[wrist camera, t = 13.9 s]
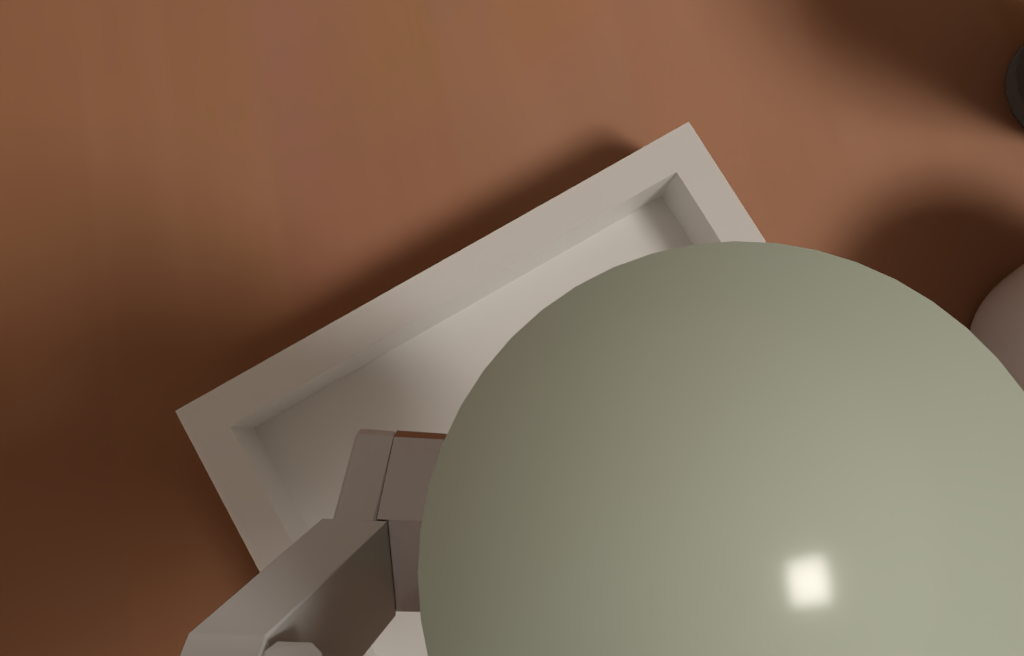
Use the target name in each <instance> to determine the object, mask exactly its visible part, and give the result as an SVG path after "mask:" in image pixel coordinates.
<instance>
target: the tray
mask: <svg viewBox="0 0 1024 656" xmlns="http://www.w3.org/2000/svg"><path fill="white" fill-rule="evenodd" d="M730 241H740V242H764V243H766V241H765V239H764V238H763V236H762V235H761V233H760V232H759V230H758V229H757V227H756V225H755V224H754V222H753V221H752V219H751V218H750V216H749V215H748V213H747V211H746V210H745V208H744V207H743V205H742V204H741V202H740V201H739V199H738V197H737V196H736V194H735V193H734V191H733V190H732V188H731V187H730V185H729V183H728V182H727V180H726V179H725V177H724V176H723V174H722V173H721V171H720V169H719V168H718V166H717V165H716V163H715V162H714V160H713V159H712V157H711V155H710V154H709V152H708V151H707V149H706V148H705V146H704V145H703V143H702V141H701V140H700V138H699V137H698V135H697V134H696V132H695V131H694V129H693V127H692V126H691V124H690V123H689V122H687V123H686V124H684V125H682V126H680V127H679V128H677V129H675V130H673V131H671V132H670V133H668V134H666V135H664V136H663V137H661V138H659V139H657V140H655V141H654V142H652V143H650V144H648V145H647V146H645V147H643V148H641V149H639V150H638V151H636V152H634V153H632V154H631V155H629V156H627V157H625V158H623V159H622V160H620V161H618V162H616V163H615V164H613V165H611V166H609V167H608V168H606V169H604V170H602V171H600V172H599V173H597V174H595V175H593V176H592V177H590V178H588V179H586V180H584V181H583V182H581V183H579V184H577V185H576V186H574V187H572V188H570V189H568V190H567V191H565V192H563V193H561V194H560V195H558V196H556V197H554V198H552V199H551V200H549V201H547V202H545V203H544V204H542V205H540V206H538V207H536V208H535V209H533V210H531V211H529V212H528V213H526V214H524V215H522V216H520V217H519V218H517V219H515V220H513V221H512V222H510V223H508V224H506V225H504V226H503V227H501V228H499V229H497V230H496V231H494V232H492V233H490V234H489V235H487V236H485V237H483V238H481V239H480V240H478V241H476V242H474V243H473V244H471V245H469V246H467V247H465V248H464V249H462V250H460V251H458V252H457V253H455V254H453V255H451V256H449V257H448V258H446V259H444V260H442V261H441V262H439V263H437V264H435V265H433V266H432V267H430V268H428V269H426V270H425V271H423V272H421V273H419V274H417V275H416V276H414V277H412V278H410V279H409V280H407V281H405V282H403V283H401V284H400V285H398V286H396V287H394V288H393V289H391V290H389V291H387V292H385V293H384V294H382V295H380V296H378V297H377V298H375V299H373V300H371V301H370V302H368V303H366V304H364V305H362V306H361V307H359V308H357V309H355V310H354V311H352V312H350V313H348V314H346V315H345V316H343V317H341V318H339V319H338V320H336V321H334V322H332V323H330V324H329V325H327V326H325V327H323V328H322V329H320V330H318V331H316V332H314V333H313V334H311V335H309V336H307V337H306V338H304V339H302V340H300V341H298V342H297V343H295V344H293V345H291V346H290V347H288V348H286V349H284V350H282V351H281V352H279V353H277V354H275V355H274V356H272V357H270V358H268V359H266V360H265V361H263V362H261V363H259V364H258V365H256V366H254V367H252V368H251V369H249V370H247V371H245V372H243V373H242V374H240V375H238V376H236V377H235V378H233V379H231V380H229V381H227V382H226V383H224V384H222V385H220V386H219V387H217V388H215V389H213V390H211V391H210V392H208V393H206V394H204V395H203V396H201V397H199V398H197V399H195V400H194V401H192V402H190V403H188V404H187V405H185V406H183V407H181V408H179V409H178V410H176V411H175V412H176V414H177V416H178V417H179V419H180V421H181V423H182V425H183V427H184V429H185V431H186V433H187V435H188V437H189V438H190V440H191V442H192V444H193V446H194V448H195V450H196V452H197V454H198V456H199V458H200V459H201V461H202V463H203V465H204V467H205V469H206V471H207V473H208V475H209V477H210V478H211V480H212V482H213V484H214V486H215V488H216V490H217V492H218V494H219V496H220V498H221V499H222V501H223V503H224V505H225V507H226V509H227V511H228V513H229V515H230V517H231V518H232V520H233V522H234V524H235V526H236V528H237V530H238V532H239V534H240V536H241V538H242V539H243V541H244V543H245V545H246V547H247V549H248V551H249V553H250V555H251V557H252V559H253V560H254V562H255V564H256V566H257V568H258V570H259V572H261V571H262V570H263V569H265V568H266V567H267V566H268V565H269V564H270V563H271V562H273V561H274V560H275V559H276V558H277V557H278V556H280V555H281V554H282V553H283V552H284V551H285V550H287V549H288V548H289V547H290V546H291V545H292V544H293V543H295V542H296V541H297V540H298V539H299V538H300V537H302V536H303V535H304V534H305V533H306V532H307V531H309V530H310V529H311V528H312V527H313V526H314V525H316V524H317V523H318V522H319V521H320V520H321V519H333V518H334V514H335V510H336V507H337V503H338V499H339V495H340V492H341V488H342V484H343V481H344V477H345V473H346V469H347V466H348V462H349V458H350V455H351V451H352V447H353V443H354V440H355V436H356V435H357V433H358V432H359V430H360V429H373V430H386V431H397V430H399V431H413V432H428V433H443V434H447V433H448V431H449V429H450V427H451V425H452V423H453V421H454V419H455V417H456V415H457V412H458V410H459V408H460V406H461V404H462V403H463V401H464V400H465V398H466V397H467V395H468V394H469V392H470V391H471V389H472V387H473V386H474V384H475V383H476V381H477V380H478V378H479V377H480V375H481V374H482V372H483V370H484V369H485V368H486V367H487V366H488V364H489V363H490V362H491V361H492V360H493V359H494V357H495V356H496V355H497V354H498V353H499V352H500V350H501V349H502V348H503V347H504V346H505V344H506V343H507V342H508V341H509V340H510V339H511V337H513V336H514V335H515V334H516V333H517V332H518V331H519V330H520V329H521V328H523V327H524V326H525V325H526V324H527V323H528V322H529V321H530V320H531V319H532V318H534V317H535V316H536V315H537V314H538V313H539V312H540V311H541V310H543V309H544V308H545V307H547V306H548V305H550V304H551V303H553V302H554V301H556V300H557V299H558V298H560V297H561V296H563V295H564V294H566V293H567V292H569V291H570V290H571V289H573V288H574V287H576V286H578V285H580V284H582V283H583V282H585V281H587V280H589V279H591V278H593V277H595V276H597V275H599V274H601V273H603V272H605V271H607V270H609V269H611V268H613V267H615V266H618V265H621V264H624V263H627V262H629V261H632V260H635V259H638V258H641V257H643V256H646V255H649V254H652V253H656V252H661V251H666V250H670V249H675V248H679V247H684V246H689V245H695V244H707V243H718V242H730ZM395 612H396V616H395V617H394V618H393V619H392V621H391V622H390V623H389V624H388V626H387V627H386V628H385V629H384V631H383V632H382V633H381V634H380V636H379V637H378V638H377V639H376V640H375V642H374V643H373V644H372V645H371V647H370V648H369V649H368V650H367V652H366V653H365V654H364V655H363V656H428V654H427V649H426V644H425V639H424V634H423V629H422V624H421V616H420V612H399V611H395Z"/></svg>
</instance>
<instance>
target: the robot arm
mask: <svg viewBox="0 0 1024 656" xmlns="http://www.w3.org/2000/svg"><path fill="white" fill-rule="evenodd" d="M446 436H447V434H443V433H428V432H413V431H399V430H397V431H386V430H373V429H360V430H359V432H358V433H357V435H356V436H355V440H354V443H353V447H352V451H351V455H350V458H349V462H348V466H347V469H346V473H345V477H344V481H343V484H342V488H341V492H340V495H339V499H338V503H337V507H336V510H335V514H334V518H333V519H321V520H320V521H319V522H318V523H317V524H316V525H314V526H313V527H312V528H311V529H310V530H309V531H307V532H306V533H305V534H304V535H303V536H302V537H300V538H299V539H298V540H297V541H296V542H295V543H293V544H292V545H291V546H290V547H289V548H288V549H287V550H285V551H284V552H283V553H282V554H281V555H280V556H278V557H277V558H276V559H275V560H274V561H273V562H271V563H270V564H269V565H268V566H267V567H266V568H265V569H263V570H262V571H261V572H260V573H259V574H258V575H256V576H255V577H254V578H253V579H252V580H251V581H249V582H248V583H247V584H246V585H245V586H244V587H242V588H241V589H240V590H239V591H238V592H237V593H236V594H234V595H233V596H232V597H231V598H230V599H229V600H227V601H226V602H225V603H224V604H223V605H222V606H220V607H219V608H218V609H217V610H216V611H215V612H213V613H212V614H211V615H210V616H209V617H208V618H207V619H205V620H204V621H203V622H202V623H201V624H200V625H198V626H197V627H196V628H195V629H194V630H193V631H191V632H190V633H189V635H188V637H187V640H186V642H185V645H184V647H183V650H182V652H181V655H180V656H363V655H364V654H365V653H366V652H367V650H368V649H369V648H370V647H371V645H372V644H373V643H374V642H375V640H376V639H377V638H378V637H379V636H380V634H381V633H382V632H383V631H384V629H385V628H386V627H387V626H388V624H389V623H390V622H391V621H392V619H393V618H394V617H395V616H396V612H395V611H399V612H420V601H419V586H418V562H419V545H420V529H421V524H422V519H423V513H424V508H425V503H426V498H427V492H428V487H429V484H430V480H431V477H432V474H433V471H434V468H435V465H436V462H437V459H438V456H439V453H440V450H441V447H442V444H443V442H444V440H445V438H446Z"/></svg>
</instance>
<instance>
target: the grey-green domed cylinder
mask: <svg viewBox="0 0 1024 656" xmlns="http://www.w3.org/2000/svg"><path fill="white" fill-rule="evenodd" d="M418 586H419V601H420V616H421V624H422V629H423V634H424V639H425V644H426V649H427V654H428V656H1024V391H1023V390H1022V388H1021V387H1020V386H1019V385H1018V383H1017V382H1016V381H1015V380H1014V378H1013V377H1012V376H1011V375H1010V373H1009V372H1008V371H1007V369H1006V368H1005V367H1004V366H1003V364H1002V363H1001V362H1000V361H999V359H998V358H997V357H996V356H995V355H994V354H993V353H992V352H991V351H990V350H989V349H988V348H987V347H986V346H985V345H984V344H983V343H982V342H981V341H980V340H979V339H978V338H977V337H976V336H974V335H973V334H972V333H971V332H970V331H969V330H968V329H967V328H966V327H965V326H964V325H962V324H961V323H960V322H958V321H957V320H956V319H955V318H953V317H952V316H951V315H949V314H948V313H947V312H946V311H944V310H943V309H942V308H940V307H939V306H938V305H937V304H935V303H934V302H933V301H931V300H929V299H928V298H926V297H924V296H923V295H921V294H919V293H918V292H916V291H914V290H913V289H911V288H909V287H908V286H906V285H904V284H903V283H901V282H899V281H898V280H896V279H894V278H891V277H889V276H887V275H885V274H882V273H880V272H878V271H876V270H873V269H871V268H869V267H867V266H864V265H862V264H860V263H857V262H854V261H851V260H848V259H845V258H841V257H838V256H835V255H831V254H828V253H825V252H821V251H818V250H813V249H808V248H802V247H796V246H790V245H784V244H778V243H764V242H740V241H730V242H718V243H707V244H695V245H689V246H684V247H679V248H675V249H670V250H666V251H661V252H656V253H652V254H649V255H646V256H643V257H641V258H638V259H635V260H632V261H629V262H627V263H624V264H621V265H618V266H615V267H613V268H611V269H609V270H607V271H605V272H603V273H601V274H599V275H597V276H595V277H593V278H591V279H589V280H587V281H585V282H583V283H582V284H580V285H578V286H576V287H574V288H573V289H571V290H570V291H569V292H567V293H566V294H564V295H563V296H561V297H560V298H558V299H557V300H556V301H554V302H553V303H551V304H550V305H548V306H547V307H545V308H544V309H543V310H541V311H540V312H539V313H538V314H537V315H536V316H535V317H534V318H532V319H531V320H530V321H529V322H528V323H527V324H526V325H525V326H524V327H523V328H521V329H520V330H519V331H518V332H517V333H516V334H515V335H514V336H513V337H511V339H510V340H509V341H508V342H507V343H506V344H505V346H504V347H503V348H502V349H501V350H500V352H499V353H498V354H497V355H496V356H495V357H494V359H493V360H492V361H491V362H490V363H489V364H488V366H487V367H486V368H485V369H484V370H483V372H482V374H481V375H480V377H479V378H478V380H477V381H476V383H475V384H474V386H473V387H472V389H471V391H470V392H469V394H468V395H467V397H466V398H465V400H464V401H463V403H462V404H461V406H460V408H459V410H458V412H457V415H456V417H455V419H454V421H453V423H452V425H451V427H450V429H449V431H448V433H447V436H446V438H445V440H444V442H443V444H442V447H441V450H440V453H439V456H438V459H437V462H436V465H435V468H434V471H433V474H432V477H431V480H430V484H429V487H428V492H427V498H426V503H425V508H424V513H423V519H422V524H421V529H420V545H419V562H418Z"/></svg>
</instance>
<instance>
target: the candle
mask: <svg viewBox="0 0 1024 656" xmlns="http://www.w3.org/2000/svg"><path fill="white" fill-rule="evenodd" d="M970 332H971V333H972V334H973V335H974V336H976V337H977V338H978V339H979V340H980V341H981V342H982V343H983V344H984V345H985V346H986V347H987V348H988V349H989V350H990V351H991V352H992V353H993V354H994V355H995V356H996V357H997V358H998V359H999V361H1000V362H1001V363H1002V364H1003V366H1004V367H1005V368H1006V369H1007V371H1008V372H1009V373H1010V375H1011V376H1012V377H1013V378H1014V380H1015V381H1016V382H1017V383H1018V385H1019V386H1020V387H1021V388H1022V390H1023V391H1024V264H1022V265H1021V266H1020V267H1018V268H1017V269H1016V270H1014V271H1013V272H1012V273H1010V274H1009V275H1008V276H1007V277H1005V278H1004V279H1003V280H1002V281H1001V282H999V283H998V284H997V285H996V286H995V287H994V288H993V289H992V290H991V291H990V292H989V294H988V295H987V296H986V297H985V299H984V300H983V301H982V303H981V305H980V306H979V308H978V310H977V312H976V314H975V316H974V318H973V321H972V324H971V327H970Z"/></svg>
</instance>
